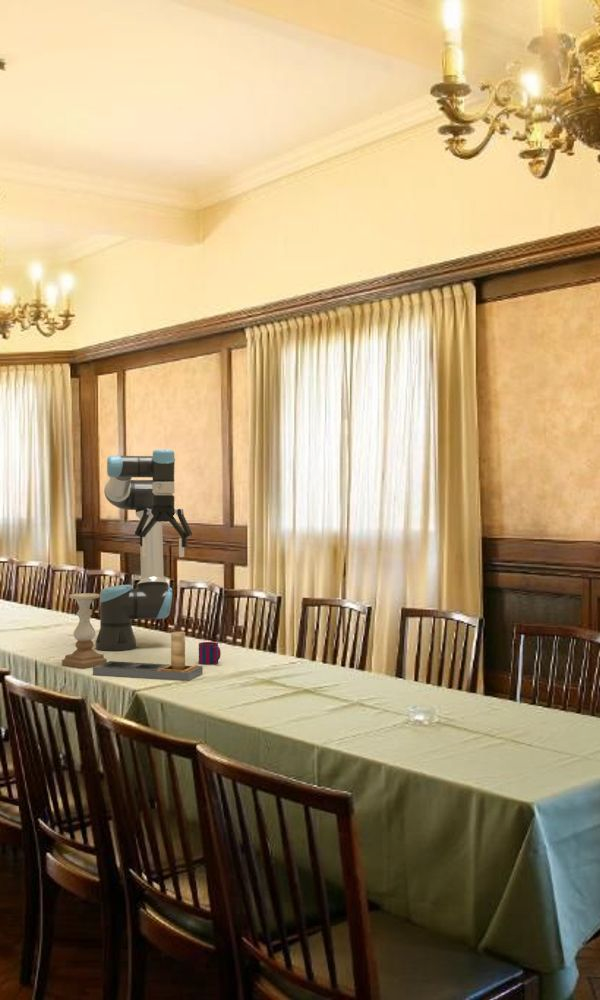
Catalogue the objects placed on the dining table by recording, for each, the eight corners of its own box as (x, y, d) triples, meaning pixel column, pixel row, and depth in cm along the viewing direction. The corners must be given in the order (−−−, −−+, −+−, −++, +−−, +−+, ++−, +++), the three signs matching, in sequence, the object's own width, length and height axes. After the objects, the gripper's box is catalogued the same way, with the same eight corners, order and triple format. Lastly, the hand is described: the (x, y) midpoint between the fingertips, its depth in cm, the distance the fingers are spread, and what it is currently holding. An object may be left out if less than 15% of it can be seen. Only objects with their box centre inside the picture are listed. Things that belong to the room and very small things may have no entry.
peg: (174, 674, 325) (174, 631, 325) (187, 675, 324) (187, 632, 324) (168, 677, 321) (169, 633, 321) (181, 677, 320) (181, 633, 320)
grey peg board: (109, 668, 336) (109, 660, 336) (202, 674, 327) (202, 665, 327) (92, 674, 324) (92, 666, 324) (188, 680, 315) (188, 671, 315)
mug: (212, 660, 352) (212, 641, 352) (226, 665, 344) (226, 645, 344) (195, 662, 349) (195, 642, 349) (208, 666, 340) (209, 646, 340)
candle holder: (82, 668, 335) (82, 597, 335) (61, 665, 342) (61, 594, 342) (107, 664, 344) (107, 594, 344) (86, 661, 351) (86, 592, 350)
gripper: (125, 494, 346) (125, 556, 346) (193, 494, 339) (192, 558, 339) (134, 494, 353) (134, 554, 353) (201, 494, 346) (201, 556, 347)
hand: (163, 556), depth 346 cm, fingers open, 13 cm apart
